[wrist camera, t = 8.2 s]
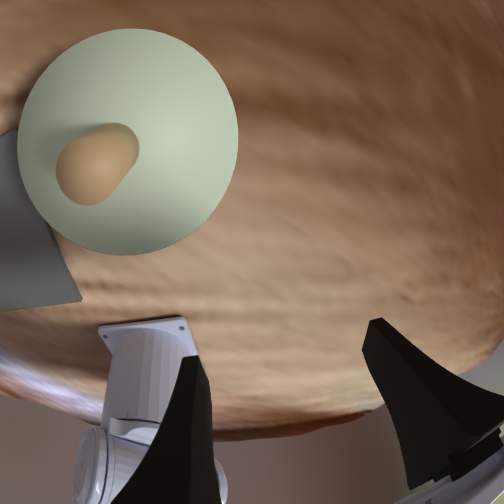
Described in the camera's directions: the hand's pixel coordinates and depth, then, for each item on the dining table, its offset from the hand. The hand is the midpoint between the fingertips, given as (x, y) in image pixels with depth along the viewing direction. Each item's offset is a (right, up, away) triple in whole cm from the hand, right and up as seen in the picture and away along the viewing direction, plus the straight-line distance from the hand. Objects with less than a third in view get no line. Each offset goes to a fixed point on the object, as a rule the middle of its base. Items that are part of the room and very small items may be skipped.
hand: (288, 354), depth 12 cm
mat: (-22, +5, +5) cm, 23 cm away
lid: (-8, +9, 0) cm, 12 cm away
